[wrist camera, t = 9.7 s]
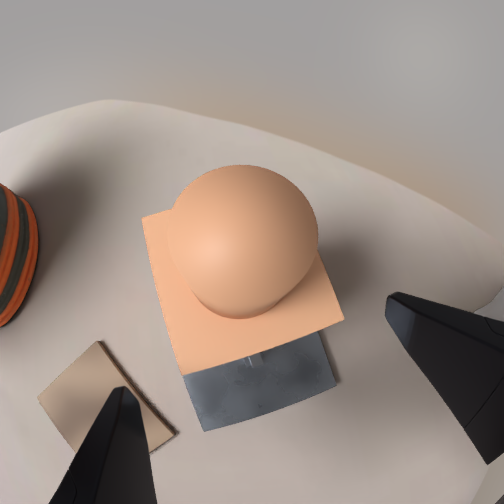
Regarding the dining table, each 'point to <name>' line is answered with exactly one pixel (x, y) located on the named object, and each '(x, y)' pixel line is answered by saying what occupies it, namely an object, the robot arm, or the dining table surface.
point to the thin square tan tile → (93, 398)
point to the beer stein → (15, 251)
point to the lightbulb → (494, 308)
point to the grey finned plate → (260, 382)
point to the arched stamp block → (238, 267)
